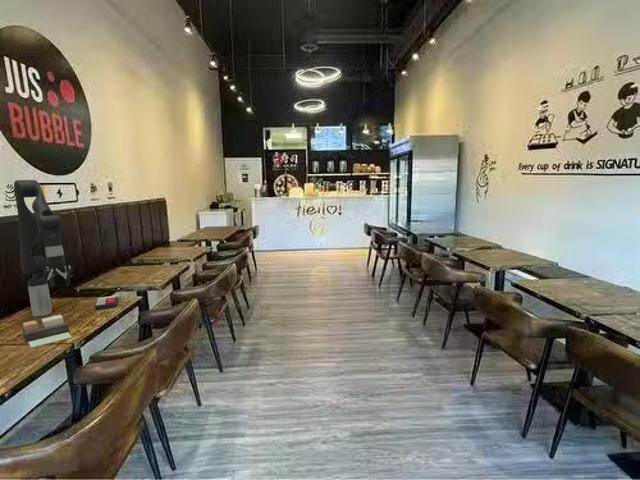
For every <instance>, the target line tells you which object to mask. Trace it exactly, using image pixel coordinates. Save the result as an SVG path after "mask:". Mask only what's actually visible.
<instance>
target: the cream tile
mask: <svg viewBox="0 0 640 480" xmlns="http://www.w3.org/2000/svg"><path fill="white" fill-rule="evenodd" d="M63 320H64V317H63V316H62V315H61V314H58V315H53V316H49V317H44V318H41V324H43V326H44V327H50V326H54V325H58V324H62V323H64V321H65V320H64V321H63Z"/></svg>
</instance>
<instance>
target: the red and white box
mask: <svg viewBox="0 0 640 480" xmlns="http://www.w3.org/2000/svg"><path fill="white" fill-rule="evenodd" d="M118 303H119V297H118V295H112V296H111V295H110V296H104V297H103V296H102V297H98V298H96V302H95V305H94V310H95V311H102V310H110V309H115V308H117V307H118Z"/></svg>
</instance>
